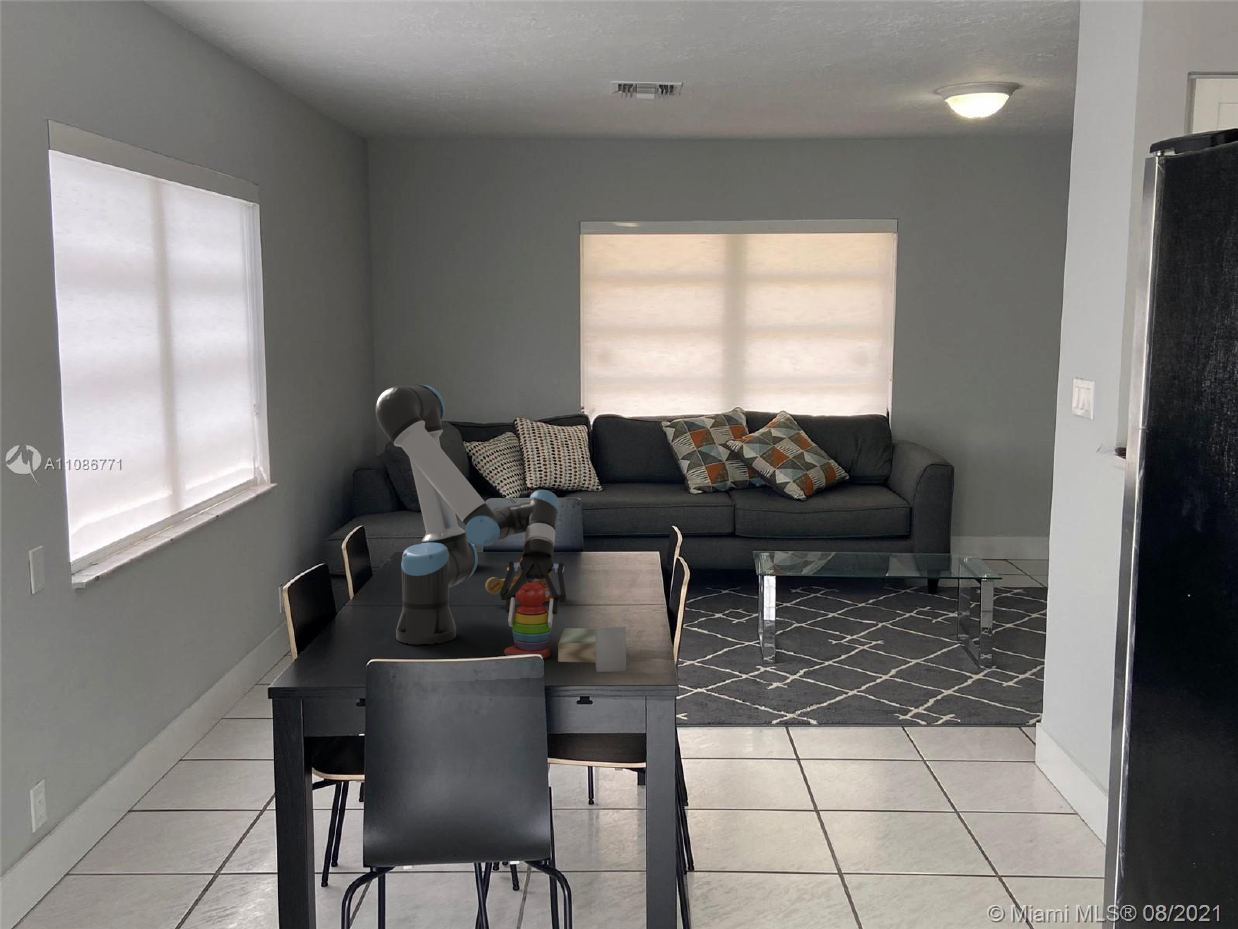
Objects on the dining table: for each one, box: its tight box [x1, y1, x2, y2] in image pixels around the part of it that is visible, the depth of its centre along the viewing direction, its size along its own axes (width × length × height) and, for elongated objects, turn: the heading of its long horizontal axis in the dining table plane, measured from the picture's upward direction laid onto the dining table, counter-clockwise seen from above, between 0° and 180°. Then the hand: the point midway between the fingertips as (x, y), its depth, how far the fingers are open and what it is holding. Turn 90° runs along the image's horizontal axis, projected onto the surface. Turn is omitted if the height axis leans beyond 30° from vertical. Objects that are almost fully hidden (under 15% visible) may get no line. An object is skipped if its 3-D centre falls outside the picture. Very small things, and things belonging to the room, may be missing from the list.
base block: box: [557, 627, 596, 664], centre depth 263 cm, size 12×12×5 cm
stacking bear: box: [503, 581, 552, 659], centre depth 262 cm, size 11×10×18 cm
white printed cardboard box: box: [595, 626, 627, 673], centre depth 252 cm, size 4×7×10 cm, turn 95°
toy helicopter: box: [484, 557, 552, 603], centre depth 314 cm, size 8×21×14 cm, turn 122°
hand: (529, 624), depth 259 cm, fingers closed on stacking bear, 9 cm apart
